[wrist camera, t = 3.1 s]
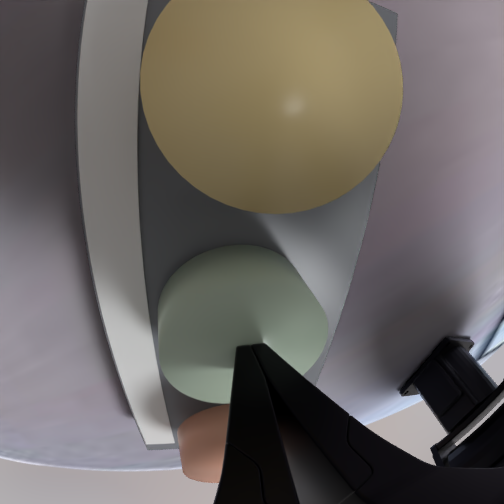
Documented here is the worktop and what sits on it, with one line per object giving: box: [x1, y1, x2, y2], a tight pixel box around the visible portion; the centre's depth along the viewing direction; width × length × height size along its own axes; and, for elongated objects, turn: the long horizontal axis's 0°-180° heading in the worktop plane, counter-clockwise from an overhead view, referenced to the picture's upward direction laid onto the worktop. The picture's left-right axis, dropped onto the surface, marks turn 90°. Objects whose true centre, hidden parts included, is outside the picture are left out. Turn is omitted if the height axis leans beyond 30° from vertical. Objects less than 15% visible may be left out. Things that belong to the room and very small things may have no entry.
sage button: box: [158, 245, 328, 404], centre depth 9 cm, size 5×5×2 cm
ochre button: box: [140, 0, 403, 214], centre depth 5 cm, size 5×5×2 cm
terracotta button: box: [177, 404, 230, 483], centre depth 12 cm, size 5×5×2 cm
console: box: [75, 0, 398, 450], centre depth 11 cm, size 9×21×2 cm, turn 175°
